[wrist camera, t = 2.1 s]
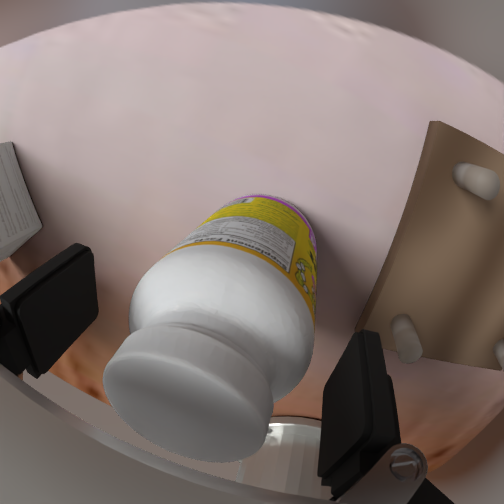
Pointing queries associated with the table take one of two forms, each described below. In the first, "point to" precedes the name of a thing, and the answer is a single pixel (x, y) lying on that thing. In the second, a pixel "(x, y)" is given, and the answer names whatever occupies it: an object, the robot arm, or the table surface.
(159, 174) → the table surface
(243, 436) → the supplement bottle
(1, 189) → the supplement box
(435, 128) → the board
